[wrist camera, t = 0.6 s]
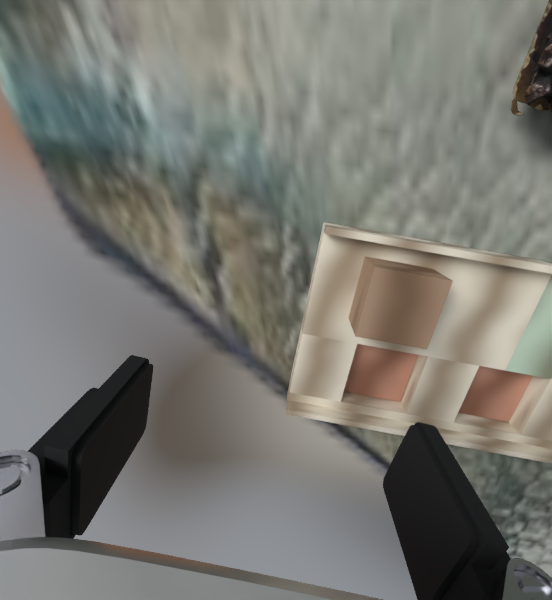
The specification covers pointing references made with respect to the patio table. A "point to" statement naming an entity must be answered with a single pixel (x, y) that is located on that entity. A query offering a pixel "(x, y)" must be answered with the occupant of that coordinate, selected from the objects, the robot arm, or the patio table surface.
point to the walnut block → (398, 302)
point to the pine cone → (537, 69)
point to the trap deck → (432, 348)
